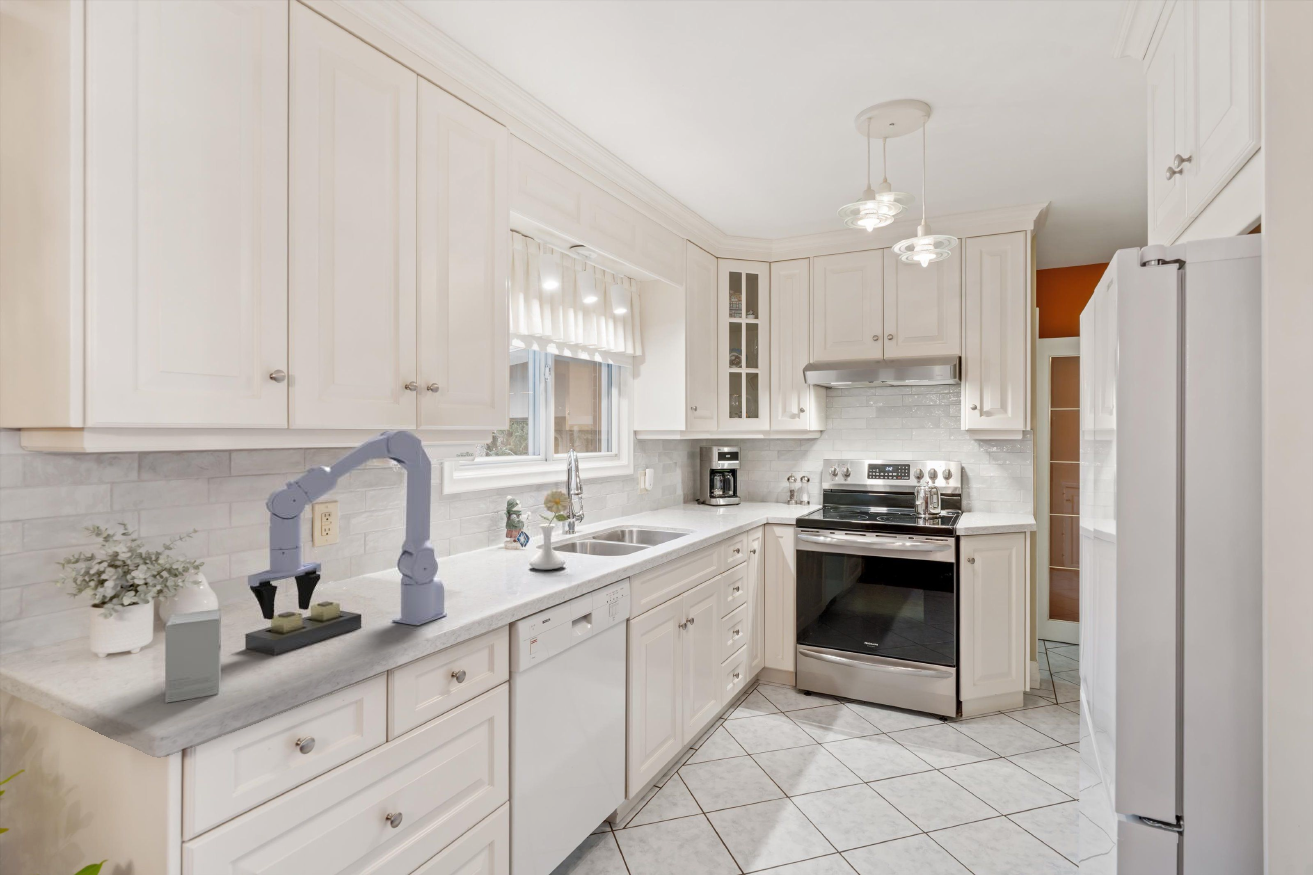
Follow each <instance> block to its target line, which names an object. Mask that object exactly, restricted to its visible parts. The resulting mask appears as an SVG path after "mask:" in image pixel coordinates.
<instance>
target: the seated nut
mask: <svg viewBox="0 0 1313 875" xmlns="http://www.w3.org/2000/svg"><path fill="white" fill-rule="evenodd" d="M340 606H341V603H339V602H335V601H328V600H326V601H322V602H318V603H316V604H312V605H310V616H311V621H314V622H320V623H325V622H328V621H331V620H335V619H338V618H340V609H341V607H340Z"/></svg>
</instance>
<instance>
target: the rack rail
mask: <svg viewBox="0 0 1313 875" xmlns="http://www.w3.org/2000/svg"><path fill="white" fill-rule="evenodd" d="M361 628H362V613H358V612H352V611H346V610H345V611H344V610H340V618H338V619H335V620H331V621H328V622H325V623H320V622H314V621H311V615H308V616H304V617H302V629H301V630H298V631H294V632H291V633H287V634H284V635H279V634H275V633H271V626H268V627H265V628H261V629H258V630H253V631H251V632H247V633H245V634H244V635H245V636H244V637H245V638H244V640H245V641H244V642H245V645H244V646H245V648H244V649H245V650H249V651H253V652H257V653H262V654H267V655H271V656H278V655H280V654H284V653H286V652H290V651H293V650H296V649H300V648H303V647H305V646H308V645H312V644H316V643H318V642H322V641H325V640H328V639H330V638H333V637H337V636H340V635H342V634H343V635H344V634H346V633H349V632H352V631H356V630H358V629H361Z"/></svg>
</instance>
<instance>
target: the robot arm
mask: <svg viewBox="0 0 1313 875" xmlns="http://www.w3.org/2000/svg"><path fill="white" fill-rule="evenodd" d="M376 459H389V460H392V461H394V462H396V463H397V464H398V465H400V467H402V468H403V469H404V470H405V471H406V473H407V474H406V510H405V512H406V513H405V514H406V515H405V516H406V517H405V539H404V541H403V543H402V545H401V552H400V554H399V557H398V559H397V562H396V566H397V570H398V571H399V573H400V574H401V575H402V577H401V578H400V616H397V617H395V618H392V619H391V621H392V622H395V623H401V624H406V625H412V626H421V625H423V624H426V623H428V622H432V621H435V620H437V619H439V618H443V617H445V616H447V615H448V614H447V612H445V586H444V583H443V582H442V580H441V579H440V578H438V577H435V576H436V575H437V573H438V571H439V563H438V561H437V559H436V556H435V548H434V546H433V544H432V541H431V538H430V535H431V501H432V500H431V496H432V495H431V493H432V461H431V460H430V458H429V455H428V454H427V453H426V451H425V449H424V447H423V445H422V440H421V439H420V438H419V437H417V436H416V435H415V434H414V433H412V432H411V431H408V430H404V429H403V430H392V429H391V430H390V429H389V430H385V431H383V432H380V434H379V435H375V436H373V437H371V438H369V439H368V440H366V441H364V442H362V443H361V444H360V445H358V446H357V447H355V448H354V449H352V450H351V451H349V452H348V453H347V454H345V455H344V456H342V457H340V458H339V459H338V460H336V461H335V462H333V463H332V464H331V465H329V466H324V465H317V466H316V467H314V466H310V467H308V468H306V471H307V472H306V473H305V474H302V475H301V476H299V477H298V478H296V479H295V480H293V481H291V480H290V481H287V482H285V486H286V488H285V487H283V488H277V489H275V490H274V491H272V493H270V494H269V497H268V498H267V501H266V502H265V506H266V509H267V510H268V512H269V513H270V516H269V528H268V529H269V531H268V532H269V569H267V570H264V571H260V572H257V573H255V574H250V575H247V586H249V590H250V591H251V592H252V594H253V595H254V597H255V598H256V600H257V602H258V604H259V607H260V610H261V614H262V616H263V619H265V620H269V621H271V619H273V618H274V615H275V600H276V594H277V590H278V585H273V583H272V582H277V581H280V580H286V579H291V578H294V580H295V584H296V588H297V599H298V600H297V602H298V609H299V610H305V611H307V610H309V607H310V604H311V599H312V596H313V593H314V591H315V589H316V587H317V585H318V583H319V581H321V573H320V572H322V562H317V561H312V562H308V563H303V547H302V546H303V540H302V539H303V538H302V536H303V534H302V532H303V530H302V527H303V526H302V517H301V516H302V515H301V514H302V513H303V512H304V510H305V508H306V506H309V505H311V504H312V503H315V502H316V501H317V500H318V499H320V498H322V497H323V496H325V495H326V494H328V493H329V492H331V491H333V490H334V489H336V487H337V485H338V480H339V479H340V478H342V477H345V475H347V474H349V473H351V472H352V471H354V470H355V469H358V468H359V467H362V465H364V464H365V463H367V462H370V461H371V460H376Z"/></svg>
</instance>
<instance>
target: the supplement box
mask: <svg viewBox="0 0 1313 875" xmlns="http://www.w3.org/2000/svg"><path fill="white" fill-rule="evenodd" d="M221 614H222V613H221V609H218V608H217V609H210V610H209V609H208V610H202V611H192V612H185V613H177V614H172V615H169V618H168V620H167V621H166V624H165V630H164V632H165V638H164V639H165V641H164V642H165V643H164V644H165V646H164V647H165V648H164V649H165V654H164V655H165V658H164V660H165V661H164V662H165V663H164V664H165V665H164V666H165V670H164V671H165V672H164V673H165V676H164V678H165V682H164V683H165V684H164V686H165V688H164V691H165V693H164V694H165V697H164V699H165V700H164V703H173V702H180V701H185V700H191V699H197V698H203V697H210V696H215V695H219V693H220V683H221V675H222V674H221V671H222V670H221V668H222V667H221V665H222V661H221V659H222V657H221V656H222V652H221V651H222V648H221V647H222V645H221V643H222V632H221V631H222V615H221Z"/></svg>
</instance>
